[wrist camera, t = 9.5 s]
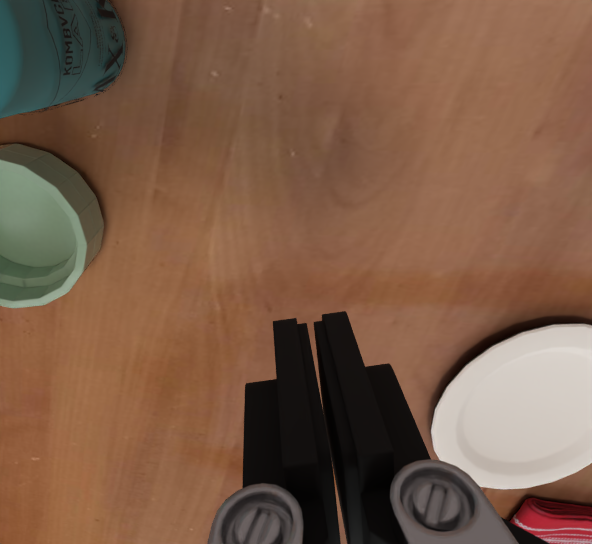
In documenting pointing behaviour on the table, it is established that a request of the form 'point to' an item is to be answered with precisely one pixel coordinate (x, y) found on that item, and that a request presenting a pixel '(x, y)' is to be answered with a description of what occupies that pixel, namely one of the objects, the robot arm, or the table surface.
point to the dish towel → (555, 521)
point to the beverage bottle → (56, 52)
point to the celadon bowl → (43, 226)
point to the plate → (520, 409)
